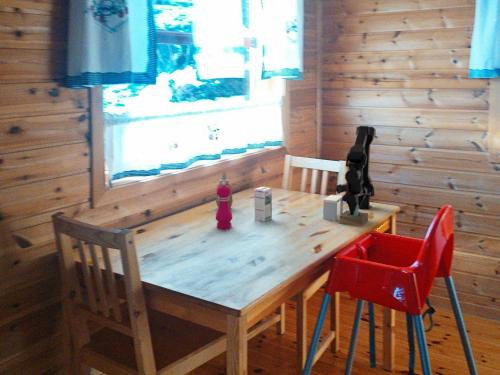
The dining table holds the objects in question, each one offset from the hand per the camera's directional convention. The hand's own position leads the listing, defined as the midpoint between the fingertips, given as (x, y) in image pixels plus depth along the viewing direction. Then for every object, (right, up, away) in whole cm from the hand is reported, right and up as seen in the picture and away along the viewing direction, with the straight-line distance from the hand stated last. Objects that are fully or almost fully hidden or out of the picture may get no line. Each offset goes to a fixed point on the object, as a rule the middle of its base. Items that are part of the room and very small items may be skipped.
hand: (354, 213), depth 246 cm
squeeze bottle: (-58, +1, +23) cm, 63 cm away
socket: (0, -4, +1) cm, 4 cm away
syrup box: (-40, -3, +6) cm, 41 cm away
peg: (0, -4, +1) cm, 4 cm away
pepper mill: (-57, -6, -5) cm, 58 cm away
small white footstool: (-8, -2, +9) cm, 12 cm away
